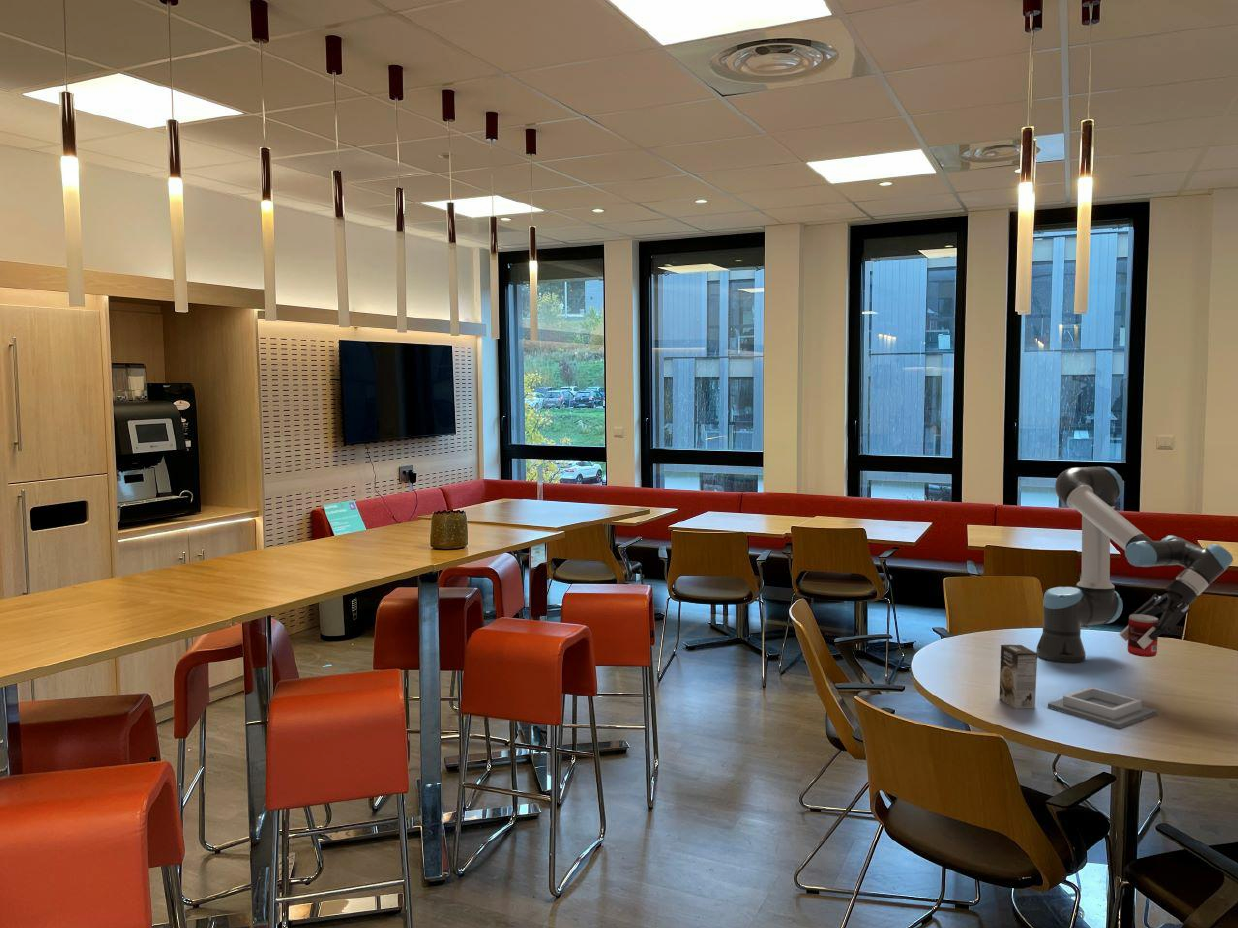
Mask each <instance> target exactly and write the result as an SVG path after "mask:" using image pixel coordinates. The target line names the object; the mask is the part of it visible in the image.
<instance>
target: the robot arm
mask: <svg viewBox="0 0 1238 928" xmlns="http://www.w3.org/2000/svg"><path fill="white" fill-rule="evenodd" d="M1122 478H1123V477H1122V476H1121V475H1120V474H1119V473H1118V471H1117V470H1115V469H1114V468H1112V467H1108V466H1088V467H1087V466H1085V467H1082V466H1081V467H1077V466H1076V467H1075V466H1074V467H1069V468H1067V469H1064V470H1063V471H1062V472H1061V473H1060V474H1059V475H1058V477H1057V478H1056V480H1055V484H1054V485H1055V486H1054V489H1055V493H1056V495H1057V497H1058V498H1059V500H1060V501H1061V502H1062V504H1064V505H1065V506H1066V507H1068V508H1069V509H1070V510H1073V511H1075V510H1076V511H1077V512H1078V513H1080V514H1081V579H1080V580H1079V581H1078V582H1077V583H1076V587H1075V586H1074V587H1073V586H1056V587H1051V588H1049V589H1047V590H1046V591H1045V592H1044V594H1043V595H1044V596H1043V601H1042V606H1043V607H1042V615H1043V616H1042V633H1041V635H1040V639H1039V640H1038V643H1037V646H1036V647H1035V648H1036V649H1035V653H1037V657H1039V658H1041V659H1044V660H1047V661H1051V662H1057V663H1066V664H1069V663H1070V664H1072V663H1073V664H1076V663H1077V664H1078V663H1082V662H1085V661H1086V654H1087V653H1086V650H1085V648H1084V644H1083V641H1082V638H1081V630H1082V629H1081V628H1082V626H1092V625H1101V626H1102V625H1105V624H1111V623H1114V622H1115V621H1116V620H1117V619H1119V618H1120V616H1121V614H1122V611H1123V603H1124V602H1123V600H1122V598H1121V597H1120V593H1118V591H1116V590H1115V585H1114V584H1113V583H1112V582H1111V581H1110V579H1111V578H1110V577H1111V576H1110V575H1111V574H1110V573H1111V571H1110V570H1111V569H1110V568H1111V567H1110V566H1111V556H1110V555H1111V540H1112V541H1113V542H1114V543H1115V544H1117V545H1118V546H1119V547H1120V548H1121V549H1122V550H1124V555H1125V558H1126V560H1127V562H1128V563H1129V564H1130V565H1131V566H1134V567H1141V568H1150V567H1160V566H1177V565H1178V566H1181V567H1183V568H1185V569H1184V570H1183V571H1181V572H1180V573H1179V574H1178V575H1177V576H1176V577H1175V579H1173V580H1172V581H1171V583H1169V584H1168V585H1167V586H1166V588H1165V589H1166V593H1164V594H1163V595H1158V594H1157V593H1154V594H1153V595H1152V596H1151V598H1149V600H1147V601H1146V602H1145V603H1143V605H1141V606H1140V607H1138V608H1137V609H1136V610H1135V611H1133V613H1131V614H1130V615H1132V614H1143V615H1150V616H1154V617H1156V616H1157V615H1158V614H1162V615H1161V616H1160V617H1159V619H1158V623H1157V625H1154V626H1155V627H1156V628H1155V627H1152V628H1151V629H1150V630H1149V631H1148V632H1147V633H1146V634H1145V635H1144V636H1143V637H1142V638H1140V639H1139V640H1138V641H1137V643H1138V644H1139V645H1140V646H1141V647H1142V648H1143V649H1145V648H1146V647H1147V646H1148V645H1149V644H1150V643H1151V642H1152V641H1153V640H1155V639H1156V638H1157V637H1159V636H1160V635H1161V634H1164V633H1165V634H1168V635H1169V634H1170V633H1172V631H1173V629H1174V628H1175V627H1176V626H1177V624H1179V623H1180V621H1181V620H1182V619H1183V618H1184V616H1185V615H1186V614H1188V613H1189V612H1190V611H1191V609H1190V608H1189V607H1188V606H1190V605H1191V604H1192V603H1194V602H1195V600H1197V597H1198V596H1200V595H1201V594H1202V593H1203V592H1204V591H1205V590H1206V589H1207V588H1208V587H1209V586H1210V585H1211V584H1212V583H1213V582H1214V581H1215V580H1217V578H1218V577H1219V576H1221V575H1222V574H1223V573H1224V572H1225V571H1226V570H1227V569H1228V568H1229V566H1230V565H1231V564H1233V561H1234V557H1233V556H1232V554H1231V553H1230V552H1229V550H1227V549H1226V548H1224V547H1223V546H1221V545H1220V544H1216V543H1211V544H1209V545H1207V546H1206V547H1205V548H1204V547H1202V546H1199V545H1197V544H1194V543H1192V542H1190V541H1188V540H1185V538H1183V537H1178V536H1176V535H1172V534H1171V535H1166V536H1165V537H1164V538H1162V539H1161V540H1152V539H1151V538H1150V537H1149V536H1148V535H1147V534H1145V533H1143V532H1142V531H1141V530H1140V529H1139V528H1138V527H1136V526H1135V525H1134V524H1132V522H1130V521H1129V520H1128V519H1126V518H1125V517H1124V516H1123V515H1121V514H1120V513H1119V512H1118V511H1116V510H1115V508H1116V501H1117V500H1119V499H1120V498H1121V496H1123V493H1124V491H1125V488H1124V487H1125V485H1124V481H1123V479H1122ZM1128 626H1129V624H1127V625H1126V627H1125V628H1124V629H1123V630H1122V631H1121V632H1120V633H1119V634H1118V635H1119V636H1120V637H1121V638H1122V639H1123V640H1124V641H1125V642H1126V641H1127V642H1128Z"/></svg>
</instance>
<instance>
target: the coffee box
mask: <svg viewBox="0 0 1238 928" xmlns="http://www.w3.org/2000/svg"><path fill="white" fill-rule="evenodd" d="M1037 666H1038V656H1037V653H1036V651H1034V650H1031V649H1030V648H1027V647H1026V646H1024V645H1022V644H1001V645H1000V671H999V676H1000V677H999V699H1000V700H1001V699H1002V701H1003V702H1004V701H1005V702H1004V703H1006V704H1007V703H1008V705H1009V706H1010V705H1011V708H1013V707H1014V708H1013V709H1035V708H1036V693H1037V692H1036V689H1037V688H1036V687H1037V686H1036V685H1037V670H1038V669H1037V668H1038V667H1037Z"/></svg>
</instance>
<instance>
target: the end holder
mask: <svg viewBox="0 0 1238 928" xmlns="http://www.w3.org/2000/svg"><path fill="white" fill-rule="evenodd" d="M1142 701H1143V700H1141V699H1137V698H1134V697H1130V696H1126V695H1122V694H1118V693H1114V692H1111V691H1108V690H1103V689H1099V688H1096V687H1092V686H1090V687H1087V688H1084V689H1080V690H1076V691H1074V692H1070V693H1066V694H1064V695H1062V698H1060V699H1058V700H1054V701H1050V702H1048V703H1047V708H1048V709H1051V708H1053V709H1052V710H1054V709H1056V710H1055V711H1058V710H1060V711H1059V712H1061V711H1063V712H1062V713H1064V712H1066V713H1065V714H1068V713H1069V715H1071V714H1072V715H1071V716H1074V715H1076V717H1078V716H1079V717H1078V718H1081V717H1082V718H1081V719H1084V718H1086V719H1085V720H1088V721H1091V722H1094V723H1099V724H1101V725H1105V726H1109V727H1110V728H1115V729H1118V730H1119V729H1121V728H1124V727H1127V726H1131V725H1133V724H1135V723H1138V722H1141V721H1143V720H1146V719H1149V718H1152V717H1154V716H1157V715H1158V710H1157V709H1154V708H1149V707H1146V706H1143V705H1142V703H1143V702H1142Z"/></svg>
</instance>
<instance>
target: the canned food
mask: <svg viewBox="0 0 1238 928" xmlns="http://www.w3.org/2000/svg"><path fill="white" fill-rule="evenodd" d="M1131 614H1132V613H1131ZM1131 614H1129V616H1128V625H1129V626H1128V640H1127V652H1128V654H1130V655H1132V656H1136V657H1143V658H1152V657H1153V658H1154V657H1155V656H1157V654H1158V637H1159V636H1158V637H1157V638H1156V639H1155V640H1153V641H1152V642H1151V643H1150V644H1149V645H1148V646H1147V647H1146V648H1145V649H1143V648H1142V647H1141V646H1140V645H1139V644H1138V643H1137V641H1138V640H1139V639H1140V638H1142V637H1143V636H1144V635H1145V634H1146V633H1147V632H1148V631H1149V630H1150V629H1151V628H1152V627H1155V626H1154V625H1157V623H1158V621H1159V618H1158V617H1156V616H1150V615H1143V614H1132V615H1131ZM1155 628H1156V627H1155Z"/></svg>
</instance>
